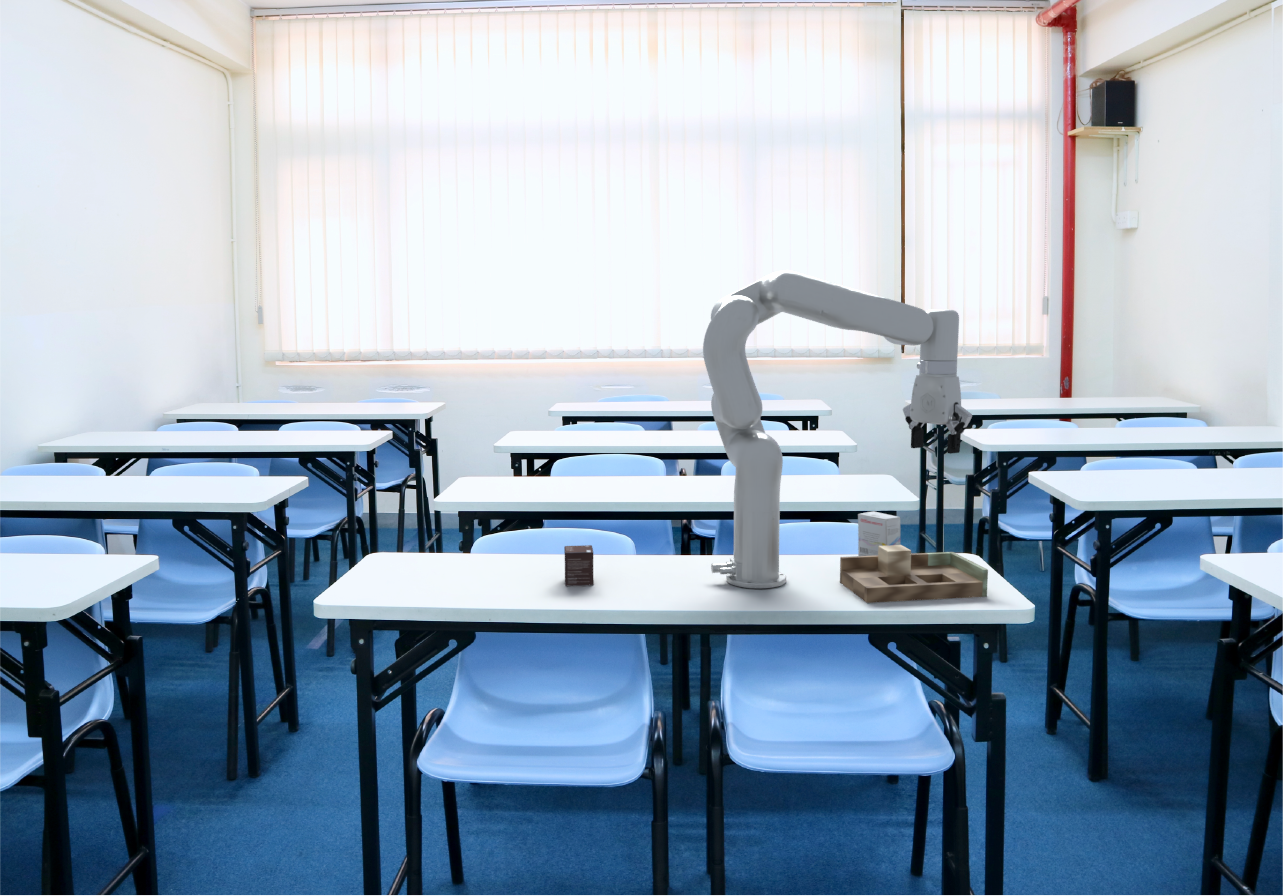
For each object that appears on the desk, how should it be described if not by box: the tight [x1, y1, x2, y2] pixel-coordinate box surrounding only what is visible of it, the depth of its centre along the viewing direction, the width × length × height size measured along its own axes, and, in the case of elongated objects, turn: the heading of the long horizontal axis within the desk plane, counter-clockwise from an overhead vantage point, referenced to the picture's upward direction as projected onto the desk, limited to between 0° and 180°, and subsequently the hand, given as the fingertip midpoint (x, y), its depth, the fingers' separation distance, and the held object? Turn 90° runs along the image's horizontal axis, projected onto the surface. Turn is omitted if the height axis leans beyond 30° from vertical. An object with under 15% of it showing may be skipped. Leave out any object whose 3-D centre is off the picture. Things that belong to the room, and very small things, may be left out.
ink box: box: [857, 511, 901, 556], centre depth 215 cm, size 9×5×12 cm, turn 34°
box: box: [564, 544, 595, 587], centre depth 205 cm, size 6×6×7 cm
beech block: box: [878, 544, 912, 575], centre depth 200 cm, size 5×5×5 cm
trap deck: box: [839, 551, 989, 604], centre depth 198 cm, size 25×15×6 cm, turn 98°
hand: (934, 450), depth 205 cm, fingers open, 9 cm apart
